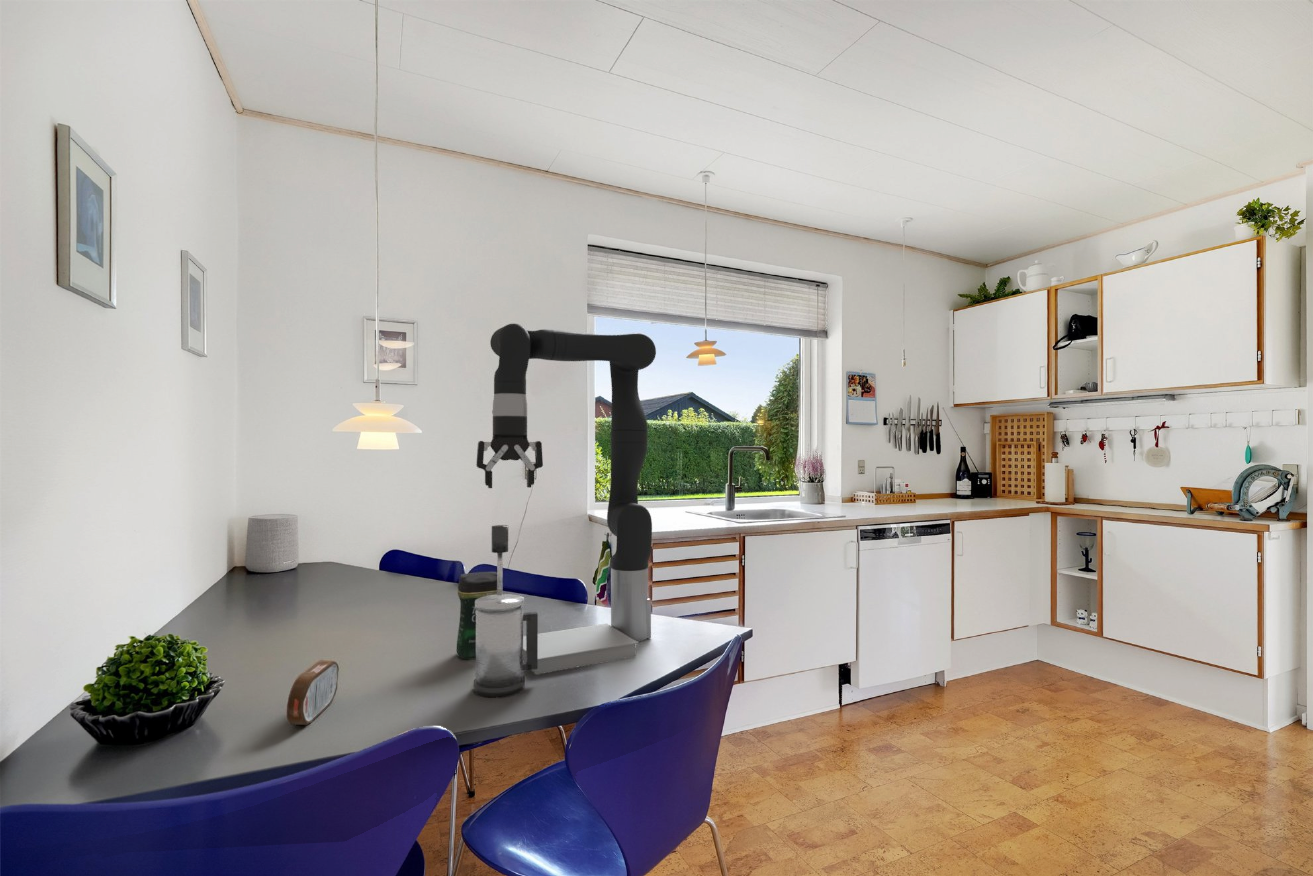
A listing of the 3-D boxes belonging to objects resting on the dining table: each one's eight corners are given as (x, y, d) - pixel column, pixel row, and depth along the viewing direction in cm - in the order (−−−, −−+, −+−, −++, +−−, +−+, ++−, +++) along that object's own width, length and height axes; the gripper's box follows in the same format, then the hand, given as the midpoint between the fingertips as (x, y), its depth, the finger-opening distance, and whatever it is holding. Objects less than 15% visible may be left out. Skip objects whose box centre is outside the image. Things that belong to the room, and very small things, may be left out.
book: (638, 642, 142) (534, 659, 130) (638, 659, 142) (534, 678, 130) (604, 622, 158) (510, 636, 146) (604, 637, 158) (510, 652, 146)
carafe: (532, 674, 131) (532, 591, 131) (541, 691, 122) (541, 602, 122) (471, 682, 127) (471, 596, 127) (475, 700, 117) (476, 608, 118)
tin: (324, 698, 119) (324, 653, 119) (341, 697, 119) (342, 652, 119) (284, 734, 104) (284, 683, 104) (304, 733, 104) (304, 682, 104)
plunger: (507, 592, 126) (507, 524, 126) (509, 596, 123) (509, 526, 123) (490, 593, 125) (490, 525, 125) (492, 597, 122) (492, 527, 122)
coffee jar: (459, 663, 138) (460, 577, 138) (454, 652, 145) (454, 571, 145) (504, 656, 142) (504, 573, 142) (496, 646, 149) (496, 567, 150)
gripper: (478, 413, 135) (478, 489, 135) (545, 414, 140) (544, 488, 140) (475, 415, 142) (475, 487, 142) (539, 416, 147) (538, 486, 147)
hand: (509, 487), depth 141 cm, fingers open, 8 cm apart
